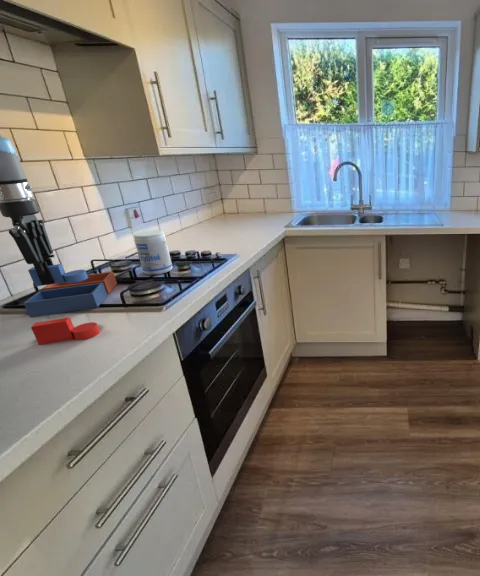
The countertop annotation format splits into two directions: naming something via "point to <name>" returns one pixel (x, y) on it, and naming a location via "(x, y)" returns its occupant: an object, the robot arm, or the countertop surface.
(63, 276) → the blue spoon
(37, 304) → the blue bin
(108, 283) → the red bin
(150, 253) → the supplement tub
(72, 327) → the red spoon
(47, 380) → the countertop surface
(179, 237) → the countertop surface
